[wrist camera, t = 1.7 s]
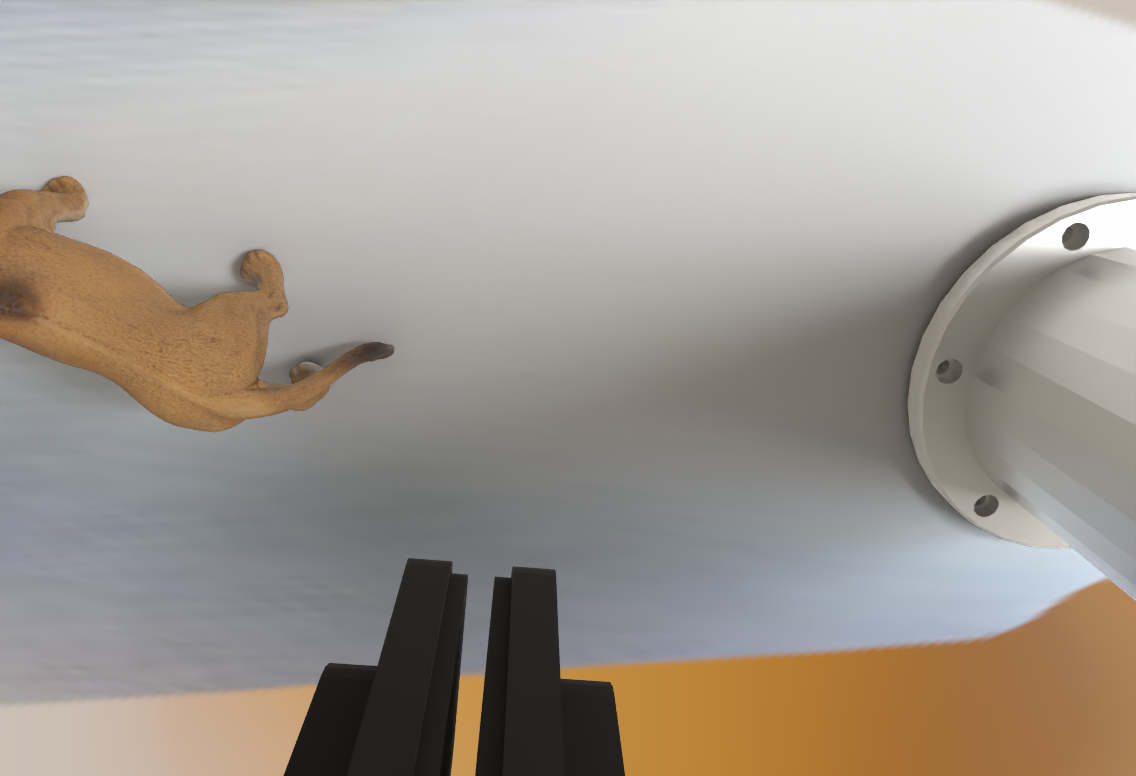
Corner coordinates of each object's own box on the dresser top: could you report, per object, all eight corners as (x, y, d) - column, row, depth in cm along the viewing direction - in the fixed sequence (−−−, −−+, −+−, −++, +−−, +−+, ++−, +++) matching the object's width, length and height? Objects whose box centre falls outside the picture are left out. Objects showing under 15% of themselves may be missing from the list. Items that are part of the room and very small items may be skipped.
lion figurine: (-73, 299, 25) (-383, 397, 17) (-69, 130, 23) (-413, 146, 15) (381, 412, 27) (311, 552, 18) (415, 264, 25) (354, 345, 17)
